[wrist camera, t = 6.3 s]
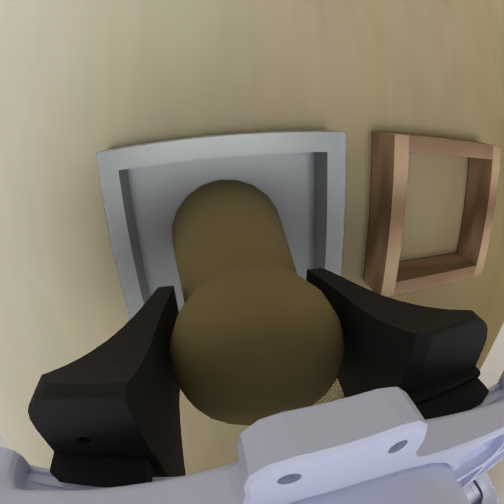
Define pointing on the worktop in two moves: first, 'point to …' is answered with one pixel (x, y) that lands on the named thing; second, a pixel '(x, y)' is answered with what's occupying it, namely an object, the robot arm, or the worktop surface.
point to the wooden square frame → (393, 212)
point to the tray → (210, 170)
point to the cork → (247, 310)
